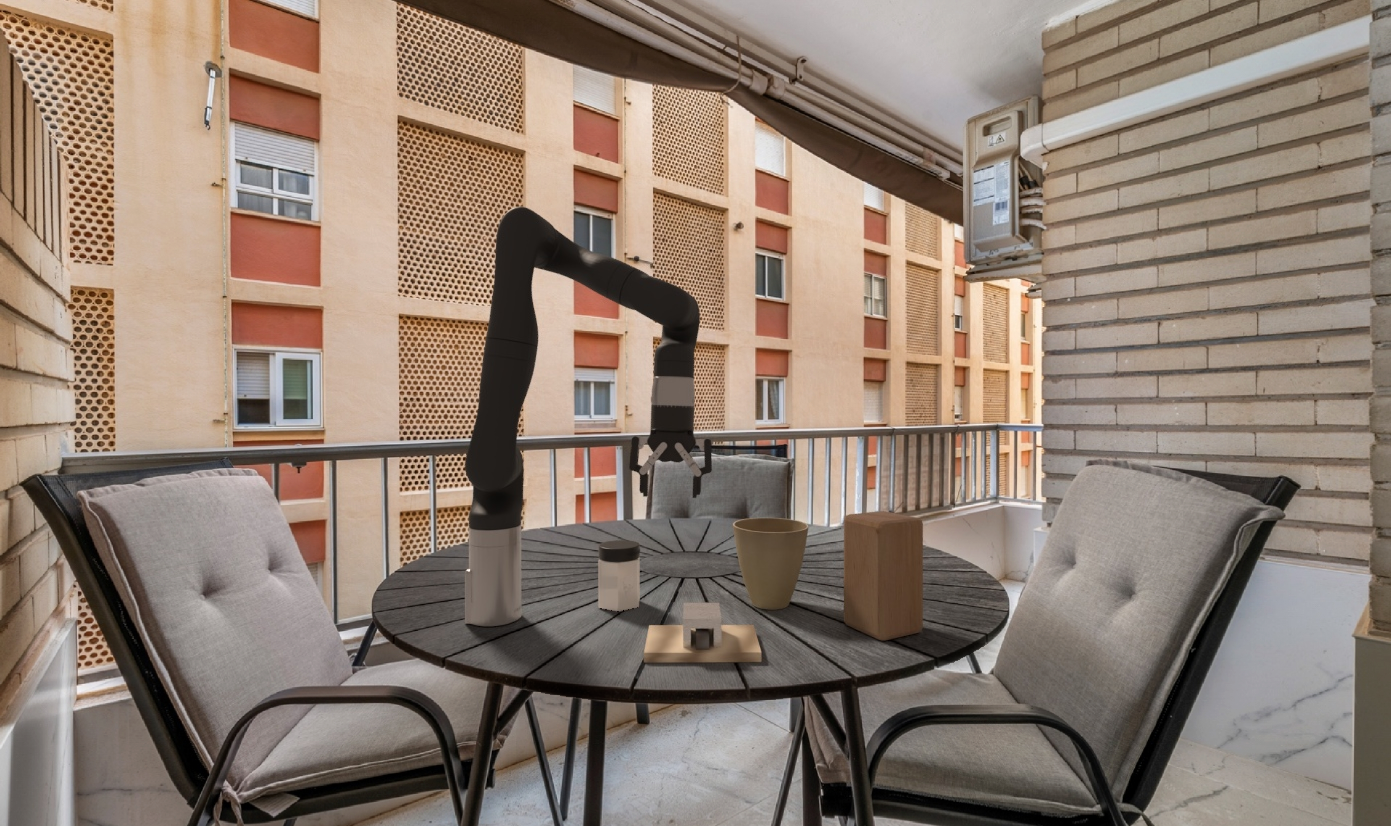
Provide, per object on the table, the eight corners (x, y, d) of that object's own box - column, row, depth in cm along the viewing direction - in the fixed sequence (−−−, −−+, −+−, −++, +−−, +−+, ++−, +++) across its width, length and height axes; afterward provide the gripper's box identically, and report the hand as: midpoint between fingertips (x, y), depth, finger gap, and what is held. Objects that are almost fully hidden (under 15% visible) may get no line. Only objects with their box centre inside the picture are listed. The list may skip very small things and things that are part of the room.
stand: (643, 662, 94) (643, 636, 94) (649, 633, 106) (649, 610, 106) (761, 662, 94) (761, 636, 94) (753, 633, 106) (753, 610, 106)
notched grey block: (683, 647, 96) (683, 618, 96) (683, 629, 104) (683, 602, 104) (721, 647, 96) (721, 618, 96) (719, 629, 104) (719, 602, 104)
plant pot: (717, 604, 122) (717, 524, 122) (762, 588, 133) (762, 515, 133) (779, 622, 112) (779, 535, 112) (822, 603, 123) (822, 523, 123)
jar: (607, 614, 116) (607, 551, 116) (590, 603, 123) (590, 543, 123) (649, 606, 121) (649, 545, 121) (630, 595, 128) (630, 538, 128)
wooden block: (882, 643, 102) (882, 523, 102) (841, 624, 111) (841, 513, 110) (925, 633, 106) (925, 518, 106) (882, 616, 115) (883, 509, 115)
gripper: (713, 405, 111) (710, 495, 111) (634, 402, 111) (631, 492, 111) (714, 404, 103) (710, 501, 103) (629, 402, 103) (626, 498, 103)
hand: (669, 496), depth 107 cm, fingers open, 8 cm apart
